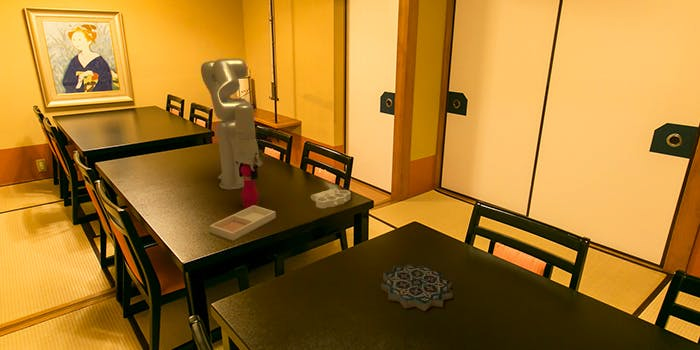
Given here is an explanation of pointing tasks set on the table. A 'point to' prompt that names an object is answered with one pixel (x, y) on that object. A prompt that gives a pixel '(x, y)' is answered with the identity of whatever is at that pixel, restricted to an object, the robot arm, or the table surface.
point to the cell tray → (242, 222)
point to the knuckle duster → (331, 198)
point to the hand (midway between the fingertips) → (248, 177)
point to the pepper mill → (248, 188)
